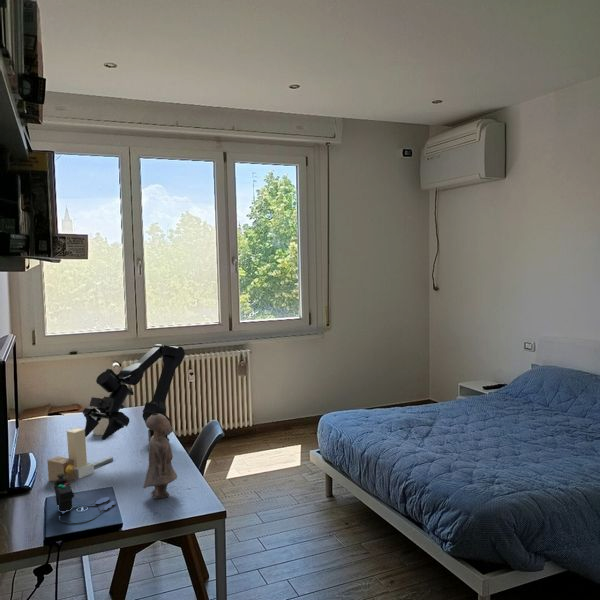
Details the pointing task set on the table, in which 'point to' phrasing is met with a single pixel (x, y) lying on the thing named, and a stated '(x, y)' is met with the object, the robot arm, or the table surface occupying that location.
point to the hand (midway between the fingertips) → (93, 438)
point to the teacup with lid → (101, 426)
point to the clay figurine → (159, 457)
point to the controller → (63, 493)
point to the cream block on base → (78, 452)
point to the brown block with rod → (67, 467)
